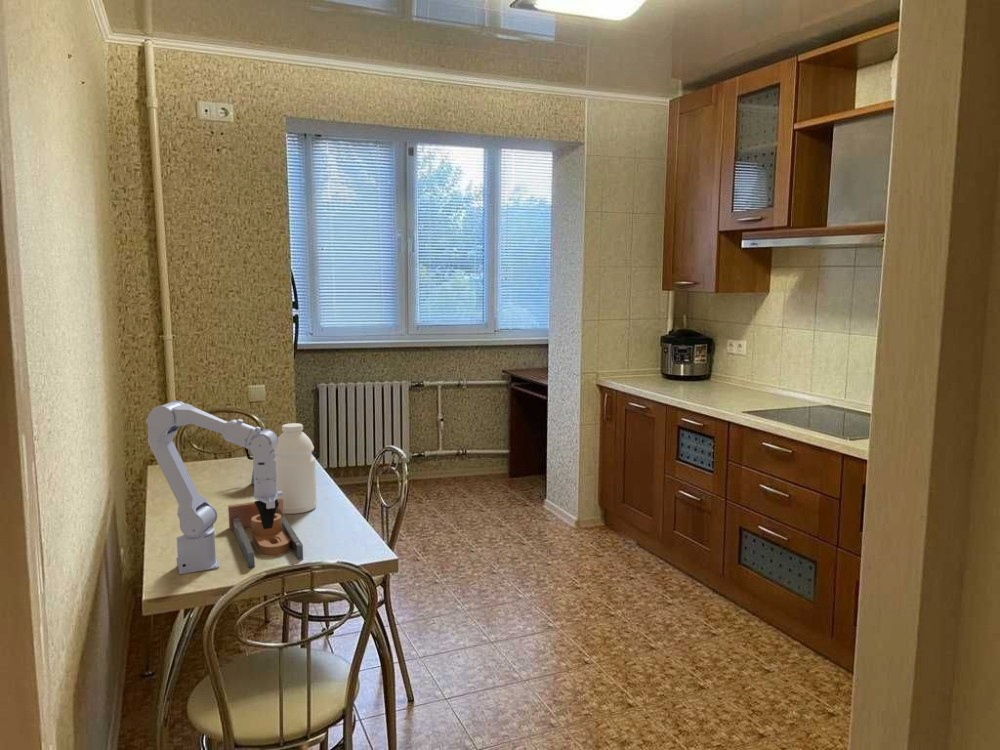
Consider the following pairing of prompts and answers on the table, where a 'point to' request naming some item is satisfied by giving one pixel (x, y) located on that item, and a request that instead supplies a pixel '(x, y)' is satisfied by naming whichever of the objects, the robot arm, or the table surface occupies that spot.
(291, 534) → the receiver
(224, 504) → the table surface
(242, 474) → the table surface
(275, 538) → the bracket
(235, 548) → the table surface
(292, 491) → the bottle
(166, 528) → the table surface
